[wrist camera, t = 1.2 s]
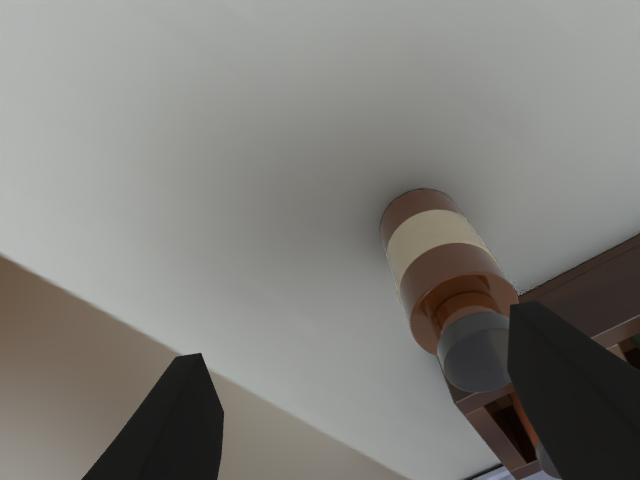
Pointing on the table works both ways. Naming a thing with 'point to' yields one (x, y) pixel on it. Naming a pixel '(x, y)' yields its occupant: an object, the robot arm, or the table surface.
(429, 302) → the spice bottle
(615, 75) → the table surface
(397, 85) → the table surface
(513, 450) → the cup holder
